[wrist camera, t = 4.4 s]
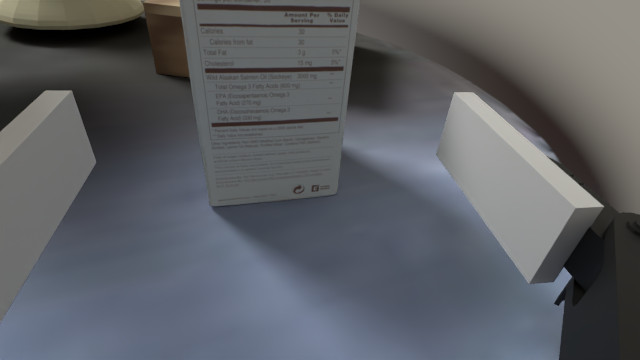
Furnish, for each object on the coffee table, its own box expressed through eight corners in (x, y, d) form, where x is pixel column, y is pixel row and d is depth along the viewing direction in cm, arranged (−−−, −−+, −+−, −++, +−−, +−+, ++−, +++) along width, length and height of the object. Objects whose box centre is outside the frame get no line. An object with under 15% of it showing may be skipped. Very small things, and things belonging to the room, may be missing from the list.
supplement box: (207, 140, 26) (177, -86, 18) (313, 134, 27) (326, -76, 20) (205, 211, 20) (161, -78, 12) (340, 198, 21) (372, -65, 14)
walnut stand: (156, 73, 34) (142, 2, 31) (222, 29, 47) (217, -24, 44) (328, 95, 33) (334, 23, 29) (347, 44, 46) (353, -11, 42)
